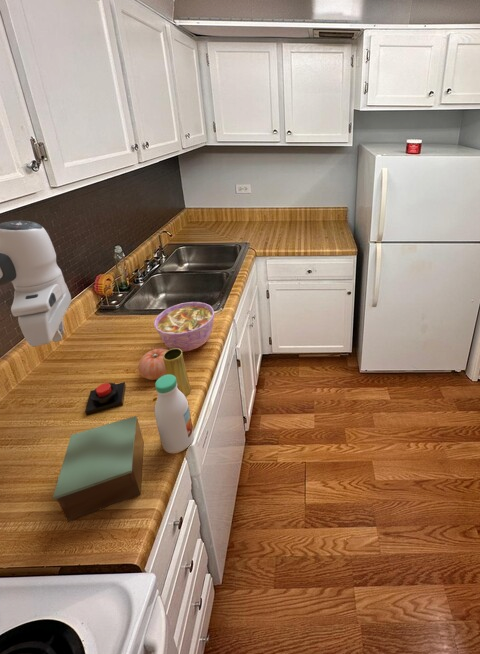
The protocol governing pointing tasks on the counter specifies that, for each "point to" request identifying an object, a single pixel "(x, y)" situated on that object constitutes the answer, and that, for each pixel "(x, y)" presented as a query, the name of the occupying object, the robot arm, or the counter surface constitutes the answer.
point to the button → (103, 389)
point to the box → (107, 488)
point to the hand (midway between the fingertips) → (59, 338)
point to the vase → (177, 369)
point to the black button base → (106, 399)
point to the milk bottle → (172, 415)
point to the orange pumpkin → (153, 364)
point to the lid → (97, 456)
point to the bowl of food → (185, 325)
